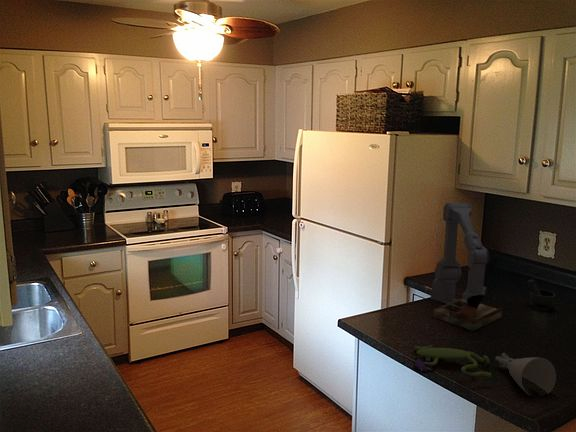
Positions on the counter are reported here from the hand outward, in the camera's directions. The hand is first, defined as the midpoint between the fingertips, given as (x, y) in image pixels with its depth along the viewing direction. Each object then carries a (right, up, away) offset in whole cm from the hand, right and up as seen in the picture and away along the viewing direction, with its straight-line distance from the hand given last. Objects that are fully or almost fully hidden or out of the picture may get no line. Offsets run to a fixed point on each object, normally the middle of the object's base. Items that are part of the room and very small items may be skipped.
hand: (472, 312), depth 202 cm
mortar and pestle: (+35, -2, +19) cm, 40 cm away
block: (-3, -2, -2) cm, 4 cm away
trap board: (0, -3, +7) cm, 8 cm away
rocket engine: (+1, -14, -41) cm, 44 cm away
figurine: (-19, -12, -34) cm, 40 cm away
